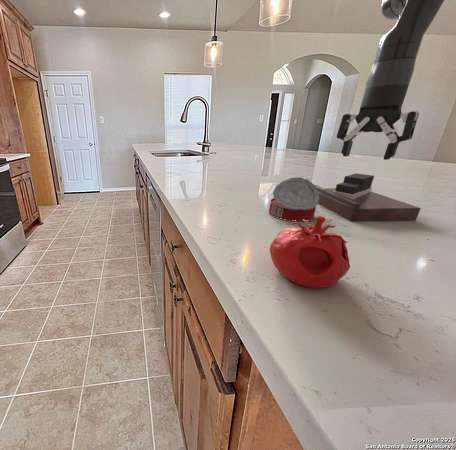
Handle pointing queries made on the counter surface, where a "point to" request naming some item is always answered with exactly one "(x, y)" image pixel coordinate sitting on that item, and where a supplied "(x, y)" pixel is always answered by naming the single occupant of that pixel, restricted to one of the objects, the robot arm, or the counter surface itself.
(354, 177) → the stepped dark block
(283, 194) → the canned food
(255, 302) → the counter surface
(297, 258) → the pomegranate
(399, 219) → the brown flat slab
